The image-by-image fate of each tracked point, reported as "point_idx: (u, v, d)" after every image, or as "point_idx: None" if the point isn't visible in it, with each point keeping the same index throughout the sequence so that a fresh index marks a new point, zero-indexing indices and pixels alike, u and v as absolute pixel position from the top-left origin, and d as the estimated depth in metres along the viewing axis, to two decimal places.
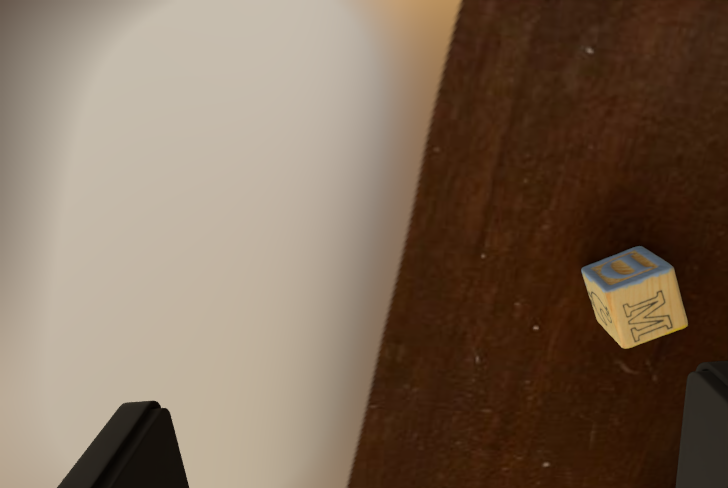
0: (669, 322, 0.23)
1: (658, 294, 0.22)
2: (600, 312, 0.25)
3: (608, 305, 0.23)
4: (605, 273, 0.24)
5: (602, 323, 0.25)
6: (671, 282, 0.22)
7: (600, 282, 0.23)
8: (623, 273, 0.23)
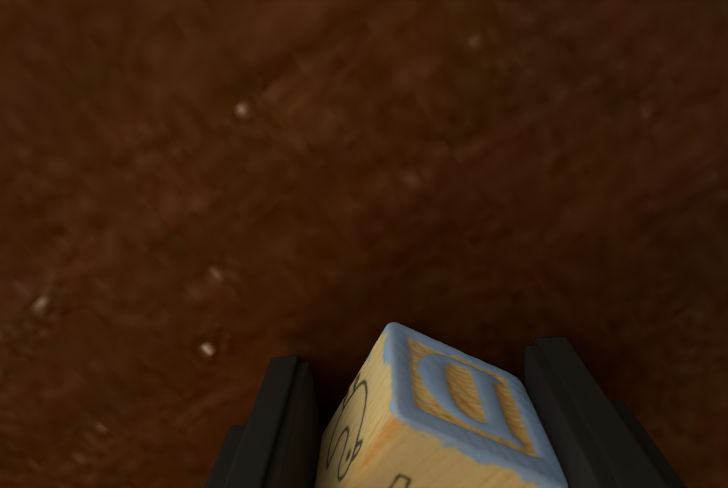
0: None
1: None
2: (340, 432, 0.10)
3: (370, 445, 0.08)
4: (426, 372, 0.09)
5: (323, 453, 0.10)
6: None
7: (402, 382, 0.08)
8: (458, 404, 0.09)
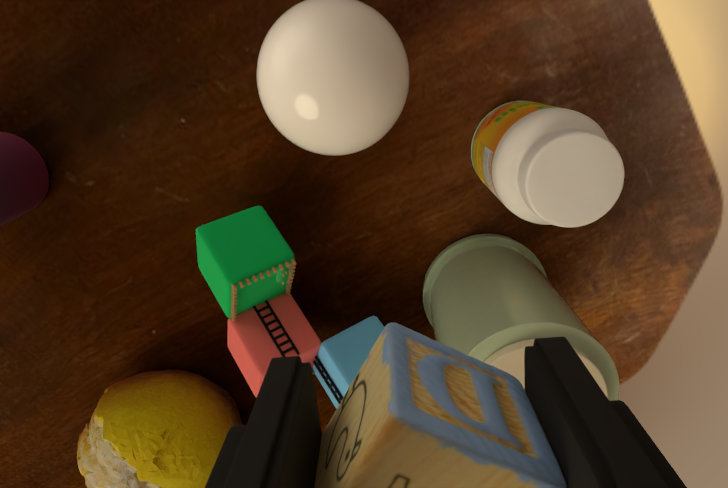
0: None
1: None
2: (339, 433, 0.10)
3: (368, 446, 0.08)
4: (425, 372, 0.09)
5: (322, 453, 0.10)
6: None
7: (400, 382, 0.08)
8: (458, 404, 0.09)
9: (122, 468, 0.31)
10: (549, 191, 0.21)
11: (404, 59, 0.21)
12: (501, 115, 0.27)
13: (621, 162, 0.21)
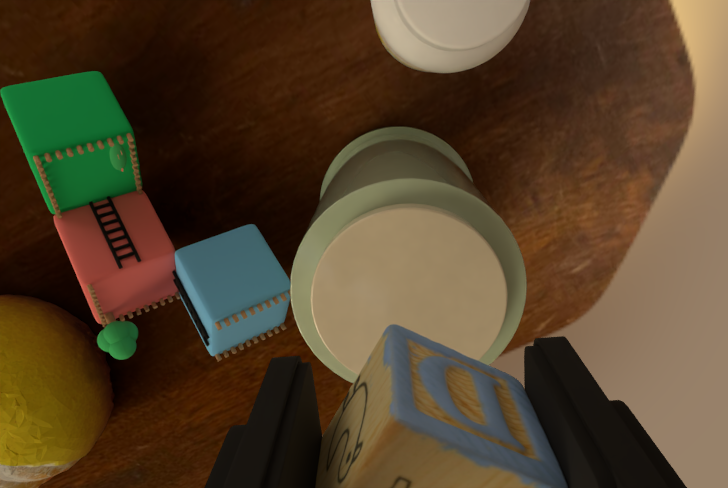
0: None
1: None
2: (340, 434, 0.10)
3: (370, 448, 0.08)
4: (426, 374, 0.09)
5: (323, 455, 0.10)
6: None
7: (402, 384, 0.08)
8: (459, 406, 0.09)
9: None
10: None
11: None
12: None
13: None
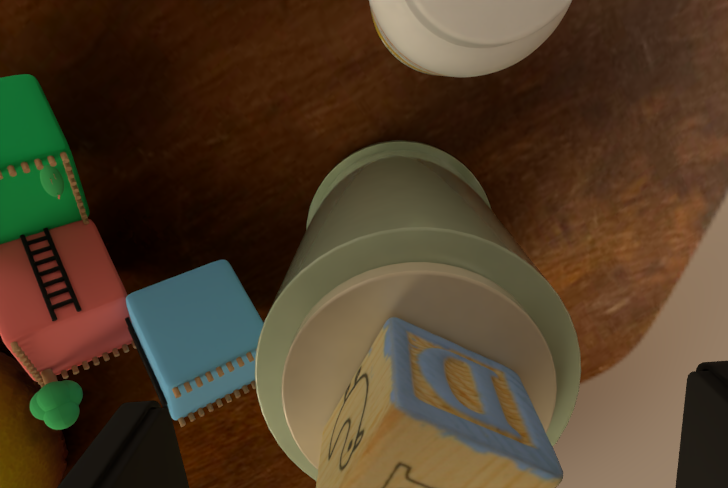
0: None
1: None
2: (342, 424, 0.10)
3: (371, 435, 0.08)
4: (426, 365, 0.09)
5: (325, 445, 0.10)
6: None
7: (402, 374, 0.08)
8: (457, 395, 0.09)
9: None
10: None
11: None
12: None
13: None
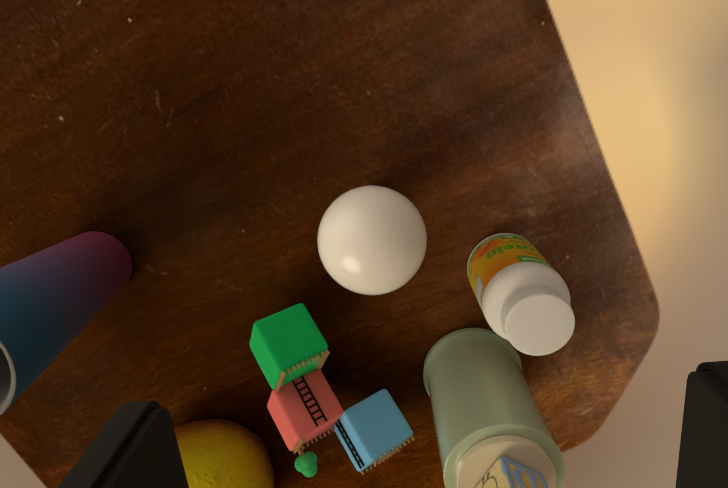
0: None
1: None
2: None
3: None
4: (516, 477, 0.29)
5: None
6: None
7: (511, 482, 0.28)
8: (526, 487, 0.28)
9: None
10: (521, 331, 0.30)
11: (424, 236, 0.29)
12: (491, 252, 0.36)
13: (573, 315, 0.30)
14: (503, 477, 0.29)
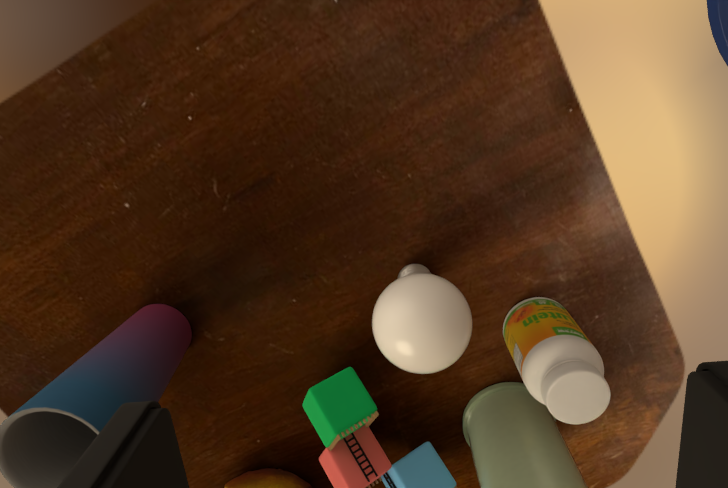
0: None
1: None
2: None
3: None
4: None
5: None
6: None
7: None
8: None
9: None
10: (561, 403, 0.33)
11: (470, 320, 0.32)
12: (527, 320, 0.38)
13: (608, 389, 0.33)
14: None
